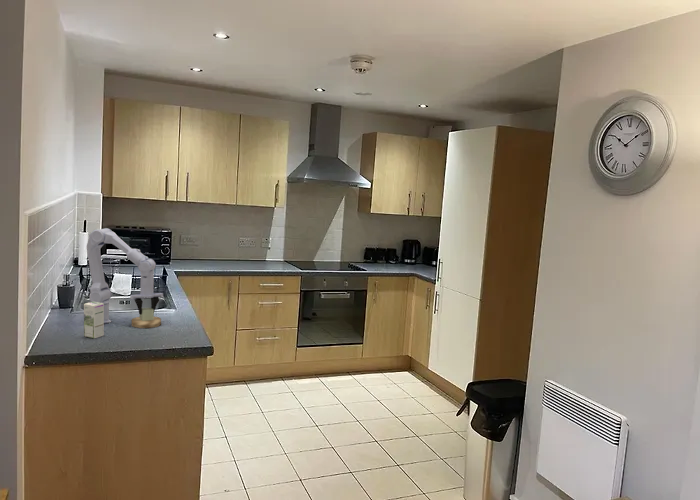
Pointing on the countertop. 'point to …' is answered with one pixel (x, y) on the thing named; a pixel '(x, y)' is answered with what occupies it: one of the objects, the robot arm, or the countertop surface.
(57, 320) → the countertop surface
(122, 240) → the robot arm
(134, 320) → the base
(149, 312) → the cube
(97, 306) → the syrup box
